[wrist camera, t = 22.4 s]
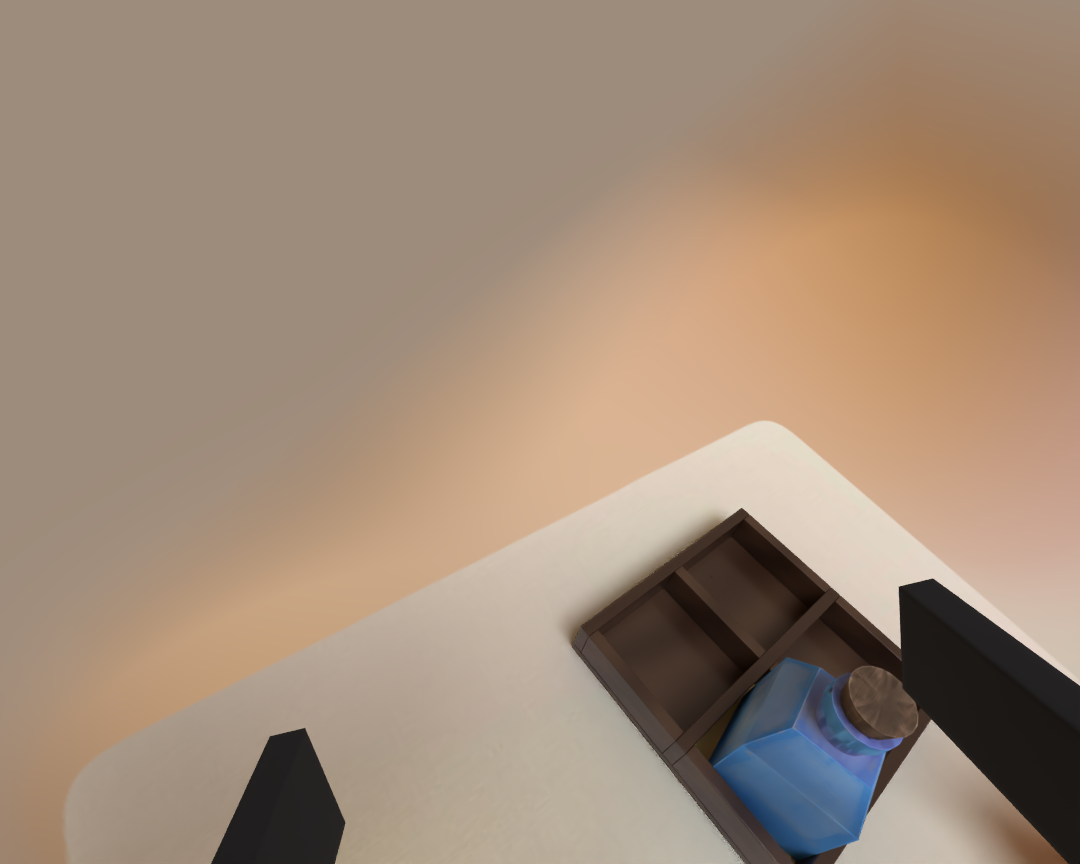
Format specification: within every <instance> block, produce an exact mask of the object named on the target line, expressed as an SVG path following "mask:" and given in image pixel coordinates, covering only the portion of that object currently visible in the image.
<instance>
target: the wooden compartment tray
mask: <svg viewBox="0 0 1080 864" xmlns="http://www.w3.org/2000/svg"><path fill="white" fill-rule="evenodd" d="M572 647H573V648H574V649H575V651H576V652H577V653H578V654H579V656H580V657H581V658H582V659H583V661H584V662H585V663H586V664H587V666H588V667H589V668H590V669H591V671H592V672H593V673H594V674H595V676H596V677H597V678H598V679H599V681H600V682H601V683H602V684H603V686H604V687H605V688H606V689H607V691H608V692H609V693H610V694H611V696H612V697H613V698H614V699H615V701H616V702H617V703H618V704H619V706H620V707H621V708H622V709H623V711H624V712H625V713H626V714H627V716H628V717H629V718H630V719H631V721H632V722H633V723H634V724H635V726H636V727H637V728H638V729H639V731H640V732H641V733H642V734H643V736H644V737H645V738H646V739H647V741H648V742H649V743H650V744H651V746H652V747H653V748H654V749H655V751H656V752H657V753H658V754H659V756H660V757H661V758H662V759H663V761H664V762H665V763H666V764H667V766H668V767H669V768H670V769H671V771H672V772H673V773H674V774H675V776H676V777H677V778H678V779H679V781H680V782H681V783H682V784H683V786H684V787H685V788H686V789H687V791H688V792H689V793H690V794H691V796H692V797H693V798H694V799H695V801H696V802H697V803H698V804H699V806H700V807H701V808H702V809H703V811H704V812H705V813H706V814H707V816H708V817H709V818H710V819H711V821H712V822H713V823H714V824H715V826H716V827H717V828H718V829H719V831H720V832H721V833H722V834H723V836H724V837H725V838H726V839H727V841H728V842H729V843H730V844H731V846H732V847H733V848H734V849H735V851H736V852H737V853H738V854H739V856H740V857H741V858H742V859H743V861H744V862H745V863H746V864H834V863H835V862H836V860H837V859H838V857H839V856H840V854H841V853H842V851H843V850H844V848H845V847H846V845H847V844H845V845H842V846H840V847H837V848H834V849H831V850H828V851H825V852H822V853H819V854H816V855H813V856H810V857H807V858H804V859H801V860H798V861H796V860H795V859H793V858H792V857H791V856H790V855H789V854H788V853H787V852H785V851H784V850H783V849H782V848H781V847H780V846H779V845H778V843H777V842H776V841H775V840H774V839H773V837H772V836H771V835H770V834H769V833H768V831H767V830H766V829H765V828H764V827H763V826H762V824H761V823H760V822H759V821H758V820H757V818H756V817H755V816H754V815H753V814H752V812H751V811H750V810H749V809H748V808H747V806H746V805H745V804H744V803H743V802H742V801H741V799H740V798H739V797H738V796H737V795H736V793H735V792H734V791H733V790H732V789H731V787H730V786H729V785H728V784H727V783H726V781H725V780H724V779H723V778H722V777H721V776H720V774H719V773H718V772H717V771H716V770H715V768H714V767H713V766H712V765H711V764H710V762H709V761H708V760H709V759H710V757H711V755H712V753H713V751H714V749H715V747H716V746H717V744H718V742H719V740H720V738H721V736H722V734H723V733H724V731H725V729H726V727H727V725H728V723H729V721H730V720H731V718H732V716H733V714H734V712H735V710H736V708H737V707H738V705H739V703H740V701H741V699H742V697H743V696H744V695H745V694H746V693H747V692H748V691H750V690H751V689H752V688H753V687H754V686H755V685H756V684H757V683H759V682H760V681H761V680H762V679H763V678H764V677H765V676H766V675H768V674H769V673H770V672H771V671H772V670H773V669H774V668H775V667H777V666H778V665H779V664H780V663H781V662H782V661H783V660H784V659H786V658H787V657H788V658H791V659H795V660H798V661H801V662H804V663H808V664H811V665H814V666H818V667H821V668H822V669H823V670H825V671H826V672H827V673H829V674H830V675H831V676H833V677H834V678H836V679H837V678H838V677H840V676H842V675H844V674H846V673H853V672H854V670H855V669H857V668H859V667H861V666H874V667H878V668H881V669H883V670H885V671H887V672H889V673H890V674H892V675H893V676H895V677H896V678H897V679H898V680H899V681H900V682H901V683H902V660H901V649H900V648H899V647H898V646H897V645H895V644H894V643H893V642H892V641H891V640H890V639H889V638H888V637H886V636H885V635H884V634H883V633H882V632H881V631H880V630H879V629H877V628H876V627H875V626H874V625H873V624H872V623H871V622H870V621H868V620H867V619H866V618H865V617H864V616H863V615H862V614H861V613H859V612H858V611H857V610H856V609H855V608H854V607H853V606H852V605H851V604H849V603H848V602H847V601H846V600H845V599H844V598H843V597H842V596H840V595H839V594H838V593H837V592H836V591H835V590H834V589H833V588H830V586H829V585H828V584H827V583H826V582H825V581H824V580H823V579H821V578H820V577H819V576H818V575H817V574H816V573H815V572H814V571H812V570H811V569H810V568H809V567H808V566H807V565H806V564H805V563H803V562H802V561H801V560H800V559H799V558H798V557H797V556H796V555H794V554H793V553H792V552H791V551H790V550H789V549H788V548H787V547H785V546H784V545H783V544H782V543H781V542H780V541H779V540H778V539H776V538H775V537H774V536H773V535H772V534H771V533H770V532H769V531H768V530H766V529H765V528H764V527H763V526H762V525H761V524H760V523H759V522H757V521H756V520H755V519H754V518H753V517H752V516H751V515H749V514H748V513H747V512H746V511H745V510H744V509H743V508H741V509H740V510H738V511H737V512H736V513H734V514H733V515H731V516H730V517H729V518H727V519H726V520H725V521H723V522H722V523H721V524H719V525H718V526H716V527H715V528H714V529H712V530H711V531H710V532H708V533H707V534H706V535H704V536H703V537H702V538H700V539H699V540H697V541H696V542H695V543H693V544H692V545H691V546H689V547H688V548H687V549H685V550H684V551H682V552H681V553H680V554H678V555H677V556H676V557H674V558H673V559H672V560H670V561H669V562H668V563H666V564H665V565H663V566H662V567H661V568H659V569H658V570H657V571H655V572H654V573H653V574H651V575H650V576H649V577H647V578H646V579H644V580H643V581H642V582H640V583H639V584H638V585H636V586H635V587H634V588H632V589H631V590H629V591H628V592H627V593H625V594H624V595H623V596H621V597H620V598H619V599H617V600H616V601H615V602H613V603H612V604H610V605H609V606H608V607H606V608H605V609H604V610H602V611H601V612H600V613H598V614H597V615H596V616H594V617H593V618H591V619H590V620H589V621H587V622H586V623H585V624H583V625H582V626H581V628H580V630H579V632H578V634H577V636H576V638H575V640H574V642H573V644H572ZM914 702H915V701H914ZM915 704H916V707H917V711H918V715H919V716H918V726H917V728H916V729H915V731H914V733H912V734H911V735H909V736H907V737H904V738H903V739H902V741H901V743H900V744H899V745H898V746H896V747H894V748H893V749H891V750H889V751H887V752H886V755H885V758H884V761H883V764H882V768H881V771H880V774H879V777H878V780H877V783H876V786H875V789H874V793H873V796H872V799H871V802H870V805H869V808H868V811H867V814H868V813H869V811H870V810H871V808H872V807H873V805H874V804H875V802H876V801H877V799H878V798H879V796H880V795H881V793H882V792H883V790H884V789H885V787H886V786H887V784H888V783H889V781H890V780H891V778H892V777H893V775H894V774H895V772H896V771H897V770H898V768H899V767H900V765H901V764H902V762H903V761H904V759H905V758H906V756H907V755H908V753H909V752H910V750H911V749H912V747H913V746H914V744H915V743H916V741H917V740H918V738H919V737H920V735H921V734H922V732H923V731H924V729H925V728H926V726H927V725H928V723H929V722H930V720H931V718H930V717H929V716H928V715H927V714H926V713H925V712H924V711H923V710H922V709H921V708H920V707H919V705H918V704H917V703H916V702H915ZM866 816H867V815H866Z"/></svg>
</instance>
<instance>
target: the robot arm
mask: <svg viewBox="0 0 1080 864" xmlns="http://www.w3.org/2000/svg"><path fill="white" fill-rule="evenodd" d="M899 605H900V632H901V660H902V688H903V690H904V691H905V692H906V693H907V694H908V695H909V696H910V697H911V698H912V699H913V700H914V701H915V702H916V703H917V704H918V705H919V707H920V708H921V709H922V710H923V711H924V712H925V713H926V714H927V715H928V716H929V717H930V718H931V719H932V720H933V721H934V722H935V723H936V724H937V725H938V727H939V728H940V729H941V730H942V731H943V732H944V733H945V734H946V735H947V736H948V737H949V738H950V739H951V740H952V741H953V742H954V743H955V744H956V746H957V747H958V748H959V749H960V750H961V751H962V752H963V753H964V754H965V755H966V756H967V757H968V758H969V759H970V760H971V761H972V762H973V763H974V764H975V766H976V767H977V768H978V769H979V770H980V771H981V772H982V773H983V774H984V775H985V776H986V777H987V778H988V779H989V780H990V781H991V782H992V783H993V784H994V786H995V787H996V788H997V789H998V790H999V791H1000V792H1001V793H1002V794H1003V795H1004V796H1005V797H1006V798H1007V799H1008V800H1009V801H1010V802H1011V803H1012V805H1013V806H1014V807H1015V808H1016V809H1017V810H1018V811H1019V812H1020V813H1021V814H1022V815H1023V816H1024V817H1025V818H1026V819H1027V820H1028V821H1029V822H1030V823H1031V825H1032V826H1033V827H1034V828H1035V829H1036V830H1037V831H1038V832H1039V833H1040V834H1041V835H1042V836H1043V837H1044V838H1045V839H1046V840H1047V841H1048V842H1049V843H1050V845H1051V846H1052V847H1053V848H1054V849H1055V850H1056V851H1057V852H1058V853H1059V854H1060V855H1061V856H1062V857H1063V858H1064V859H1065V860H1066V861H1067V862H1068V864H1080V686H1079V685H1078V684H1077V683H1075V682H1074V681H1072V680H1071V679H1070V678H1068V677H1067V676H1066V675H1064V674H1063V673H1062V672H1060V671H1059V670H1057V669H1056V668H1055V667H1053V666H1052V665H1051V664H1049V663H1048V662H1046V661H1045V660H1044V659H1042V658H1041V657H1040V656H1038V655H1037V654H1036V653H1034V652H1033V651H1031V650H1030V649H1029V648H1027V647H1026V646H1025V645H1023V644H1022V643H1021V642H1019V641H1018V640H1016V639H1015V638H1014V637H1012V636H1011V635H1010V634H1008V633H1007V632H1005V631H1004V630H1003V629H1001V628H1000V627H999V626H997V625H996V624H995V623H993V622H992V621H990V620H989V619H988V618H986V617H985V616H984V615H982V614H981V613H979V612H978V611H977V610H975V609H974V608H973V607H971V606H970V605H969V604H967V603H966V602H964V601H963V600H962V599H960V598H959V597H958V596H956V595H955V594H953V593H952V592H951V591H949V590H948V589H947V588H945V587H944V586H943V585H941V584H940V583H938V582H937V581H936V580H934V579H929V580H925V581H921V582H916V583H912V584H908V585H904V586H900V587H899ZM344 826H345V821H344V818H343V816H342V814H341V811H340V809H339V807H338V804H337V802H336V799H335V797H334V795H333V792H332V790H331V788H330V785H329V783H328V781H327V778H326V776H325V774H324V771H323V769H322V767H321V764H320V762H319V760H318V757H317V755H316V753H315V750H314V748H313V746H312V743H311V741H310V739H309V736H308V734H307V732H306V729H305V728H303V729H299V730H295V731H291V732H287V733H282V734H278V735H274V736H270V737H269V740H268V742H267V744H266V746H265V748H264V750H263V753H262V755H261V757H260V759H259V761H258V763H257V766H256V768H255V770H254V772H253V774H252V776H251V779H250V781H249V783H248V785H247V787H246V789H245V792H244V794H243V796H242V798H241V800H240V802H239V805H238V807H237V809H236V811H235V813H234V815H233V818H232V820H231V822H230V824H229V826H228V828H227V831H226V833H225V835H224V837H223V839H222V841H221V844H220V846H219V848H218V850H217V852H216V854H215V857H214V859H213V861H212V863H211V864H335V861H336V857H337V853H338V849H339V845H340V841H341V837H342V834H343V830H344Z"/></svg>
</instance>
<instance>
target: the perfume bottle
mask: <svg viewBox="0 0 1080 864" xmlns="http://www.w3.org/2000/svg"><path fill="white" fill-rule="evenodd" d="M918 716H919V715H918V711H917V707H916V704H915V702H914V700H913V699H912V698H911V697H910V696H909V695H908V694H907V693H906V692H905V691H904V690H903V688H902V683H901V682H900V681H899V680H898V679H897V678H896V677H895V676H893V675H892V674H890V673H889V672H887V671H885V670H883V669H881V668H878V667H874V666H861V667H859V668H857V669H855V670H854V672H853V673H846V674H844V675H842V676H840V677H838V678H837V679H836V678H834V677H833V676H831V675H830V674H829V673H827V672H826V671H825V670H823V669H822V668H821V667H818V666H814V665H811V664H808V663H804V662H801V661H798V660H795V659H791V658H788V657H787V658H786V659H784V660H783V661H782V662H781V663H780V664H779V665H778V666H777V667H775V668H774V669H773V670H772V671H771V672H770V673H769V674H768V675H766V676H765V677H764V678H763V679H762V680H761V681H760V682H759V683H757V684H756V685H755V686H754V687H753V688H752V689H751V690H750V691H748V692H747V693H746V694H745V695H744V696H743V697H742V699H741V701H740V703H739V705H738V707H737V708H736V710H735V712H734V714H733V716H732V718H731V720H730V721H729V723H728V725H727V727H726V729H725V731H724V733H723V734H722V736H721V738H720V740H719V742H718V744H717V746H716V747H715V749H714V751H713V753H712V755H711V757H710V759H709V760H708V761H709V762H710V764H711V765H712V766H713V767H714V768H715V770H716V771H717V772H718V773H719V774H720V776H721V777H722V778H723V779H724V780H725V781H726V783H727V784H728V785H729V786H730V787H731V789H732V790H733V791H734V792H735V793H736V795H737V796H738V797H739V798H740V799H741V801H742V802H743V803H744V804H745V805H746V806H747V808H748V809H749V810H750V811H751V812H752V814H753V815H754V816H755V817H756V818H757V820H758V821H759V822H760V823H761V824H762V826H763V827H764V828H765V829H766V830H767V831H768V833H769V834H770V835H771V836H772V837H773V839H774V840H775V841H776V842H777V843H778V845H779V846H780V847H781V848H782V849H783V850H784V851H785V852H787V853H788V854H789V855H790V856H791V857H792V858H793V859H795V860H796V861H798V860H801V859H804V858H807V857H810V856H813V855H816V854H819V853H822V852H825V851H828V850H831V849H834V848H837V847H840V846H842V845H845V844H848V843H851V842H854V841H857V840H859V836H860V833H861V830H862V827H863V824H864V821H865V818H866V815H867V811H868V808H869V805H870V802H871V799H872V796H873V793H874V789H875V786H876V783H877V780H878V777H879V774H880V771H881V768H882V764H883V761H884V758H885V755H886V752H887V751H889V750H891V749H893V748H894V747H896V746H898V745H899V744H900V743H901V741H902V739H903V738H904V737H907V736H909V735H911V734H912V733H914V731H915V729H916V728H917V726H918Z"/></svg>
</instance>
